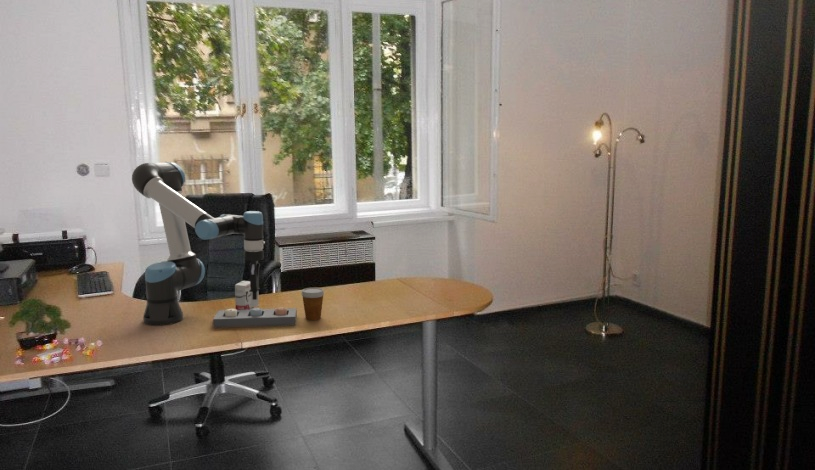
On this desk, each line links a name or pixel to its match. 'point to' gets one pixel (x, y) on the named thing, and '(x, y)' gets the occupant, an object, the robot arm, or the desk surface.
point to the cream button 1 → (230, 312)
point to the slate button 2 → (256, 312)
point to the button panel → (255, 318)
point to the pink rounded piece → (281, 311)
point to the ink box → (243, 296)
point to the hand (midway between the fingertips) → (255, 306)
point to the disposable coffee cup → (312, 302)
